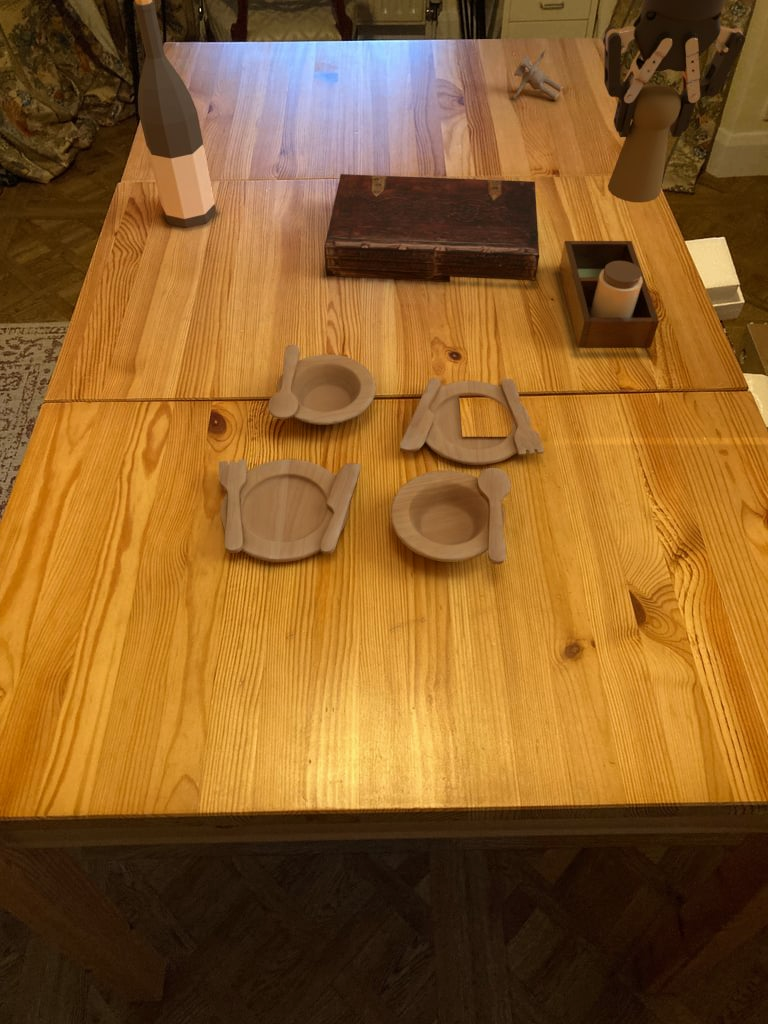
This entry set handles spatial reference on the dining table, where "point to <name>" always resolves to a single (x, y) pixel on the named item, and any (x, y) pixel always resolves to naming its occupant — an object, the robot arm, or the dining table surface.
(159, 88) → the wine bottle
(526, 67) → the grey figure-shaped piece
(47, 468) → the dining table surface
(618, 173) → the pepper mill
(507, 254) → the hardback book
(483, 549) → the tableware set
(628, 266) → the spice pot
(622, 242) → the box
